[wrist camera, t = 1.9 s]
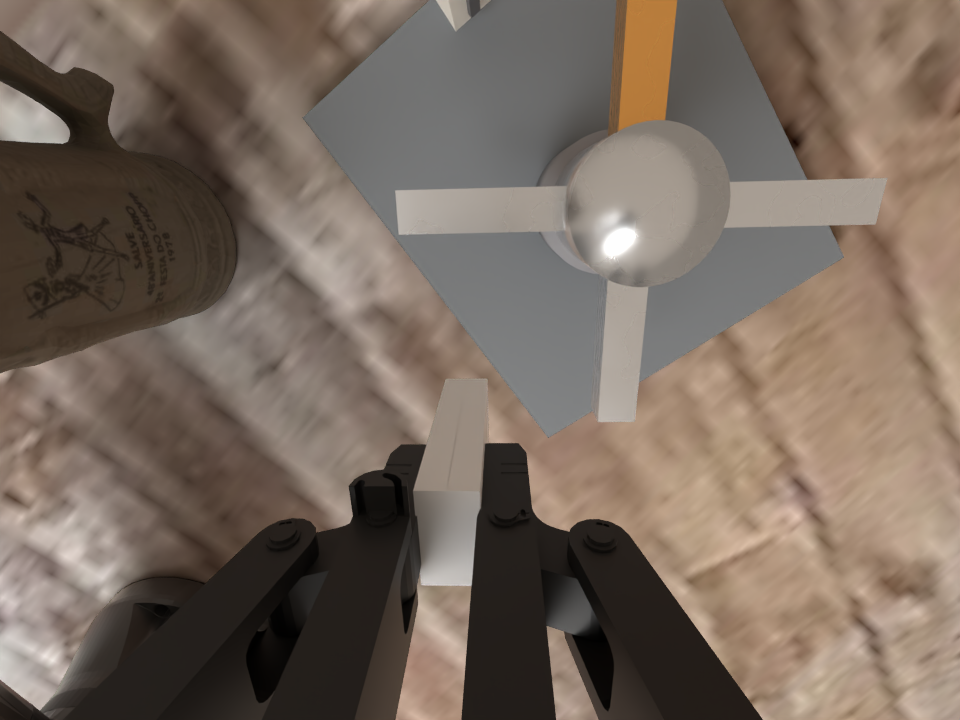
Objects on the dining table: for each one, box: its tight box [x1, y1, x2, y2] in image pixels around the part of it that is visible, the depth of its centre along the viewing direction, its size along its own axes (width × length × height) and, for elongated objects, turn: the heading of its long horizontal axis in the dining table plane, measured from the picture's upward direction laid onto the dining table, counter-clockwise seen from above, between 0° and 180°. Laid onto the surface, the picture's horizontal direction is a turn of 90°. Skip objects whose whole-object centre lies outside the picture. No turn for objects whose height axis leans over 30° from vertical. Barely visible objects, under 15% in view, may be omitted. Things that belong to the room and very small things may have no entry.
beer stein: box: [0, 31, 236, 373], centre depth 21 cm, size 15×11×20 cm
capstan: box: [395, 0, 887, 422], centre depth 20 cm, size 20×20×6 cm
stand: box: [303, 0, 844, 438], centre depth 23 cm, size 22×26×14 cm
